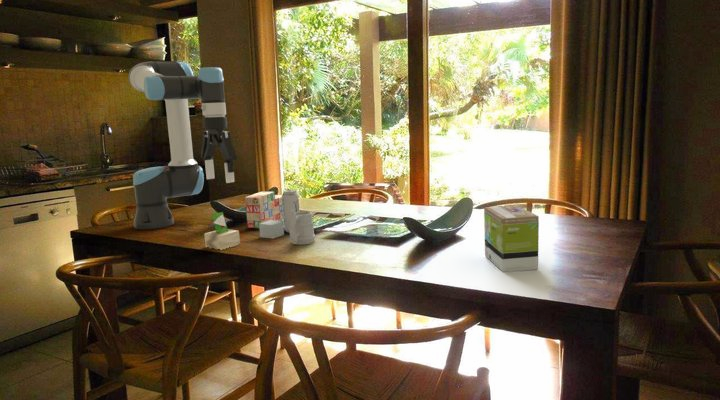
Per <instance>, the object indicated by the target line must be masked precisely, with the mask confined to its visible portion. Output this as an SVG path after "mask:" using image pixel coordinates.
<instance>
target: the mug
mask: <svg viewBox="0 0 720 400" xmlns="http://www.w3.org/2000/svg"><path fill="white" fill-rule="evenodd" d="M294 212H295V211H293V210H291V219H290V229H289V232H288V233H289V238H290V240H291V242H292V244H295V245H301V246H302V245H309V244H313V243H314V242H315V241H316V240H315V239H316V234H315V229H314V224H315V221H314V219H313V213H312V211H306V210H304V211H300V212H295V213H294Z"/></svg>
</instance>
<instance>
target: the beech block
mask: <svg viewBox="0 0 720 400" xmlns="http://www.w3.org/2000/svg"><path fill="white" fill-rule="evenodd" d="M203 236H204V244H205V245H204V246H205V248H207V247H209V248H208V249H212V248H214V249H213V250H218V249H220V251H223V249H224V250H226V248H227V249H230V248H233V247H236V246H240V245H241V240H240V231H239V230H235V229H229V228H228V231H226V232H222V233H217V232H216V230H213V231H209V232H205V233H204V234H203ZM239 244H240V245H239ZM229 247H230V248H229Z"/></svg>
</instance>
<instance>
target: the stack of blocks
mask: <svg viewBox="0 0 720 400" xmlns="http://www.w3.org/2000/svg"><path fill="white" fill-rule="evenodd" d="M244 201H245V213H246V224H247V229H259V224H260V223H263V222H266V221H269V220H273V221H277V220H278V221H280V220H279V219H281V220H283V219H284V218H283V204H282V194H275V191H260V192H256V193H253V194H251V195H248V196H247V195H246V196H245V197H244ZM282 218H283V219H282Z"/></svg>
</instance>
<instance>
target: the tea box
mask: <svg viewBox="0 0 720 400" xmlns="http://www.w3.org/2000/svg"><path fill="white" fill-rule="evenodd" d="M483 209H484V210H483V211H484V212H483V213H484V214H483V218H484V219H483V220H484V221H483V222H484V256H485V257H486V258H487V259H488V260H489V261H490V262H491V263H493V264H494V265H495V266H496V267H497V268H498V269H499V270H500V271H501V272H502V273H510V272H511V273H512V272H523V271H524V272H525V271H535V270H538V269H539V230H540V229H539V225H540V222H539V221H540V220H539V218H540V217H539V215H536V214H535V213H533V212H531V211H530V210H527V209H525V208H523V207H521V206H520V205H518V204H513V205H502V206H501V205H499V206H490V207H489V206H487V207H486V206H485V207H484V208H483Z"/></svg>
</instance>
